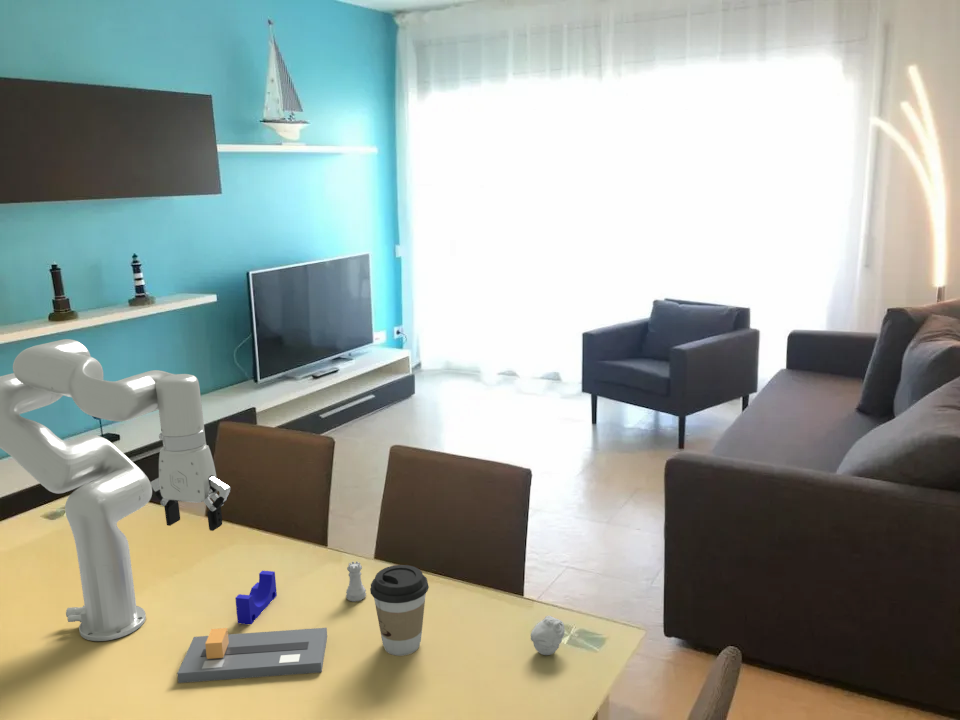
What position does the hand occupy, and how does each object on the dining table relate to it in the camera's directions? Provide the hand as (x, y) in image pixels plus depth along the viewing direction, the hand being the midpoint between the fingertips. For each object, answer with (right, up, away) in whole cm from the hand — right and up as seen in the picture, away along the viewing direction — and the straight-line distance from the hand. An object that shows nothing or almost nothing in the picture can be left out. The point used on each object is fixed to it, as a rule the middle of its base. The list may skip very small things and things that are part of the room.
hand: (194, 525), depth 151 cm
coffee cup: (+39, -25, +4) cm, 47 cm away
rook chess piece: (+27, -21, +23) cm, 41 cm away
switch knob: (+5, -24, -1) cm, 24 cm away
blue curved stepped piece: (+6, -22, +19) cm, 30 cm away
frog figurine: (+68, -25, +1) cm, 72 cm away
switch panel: (+12, -26, +1) cm, 28 cm away
